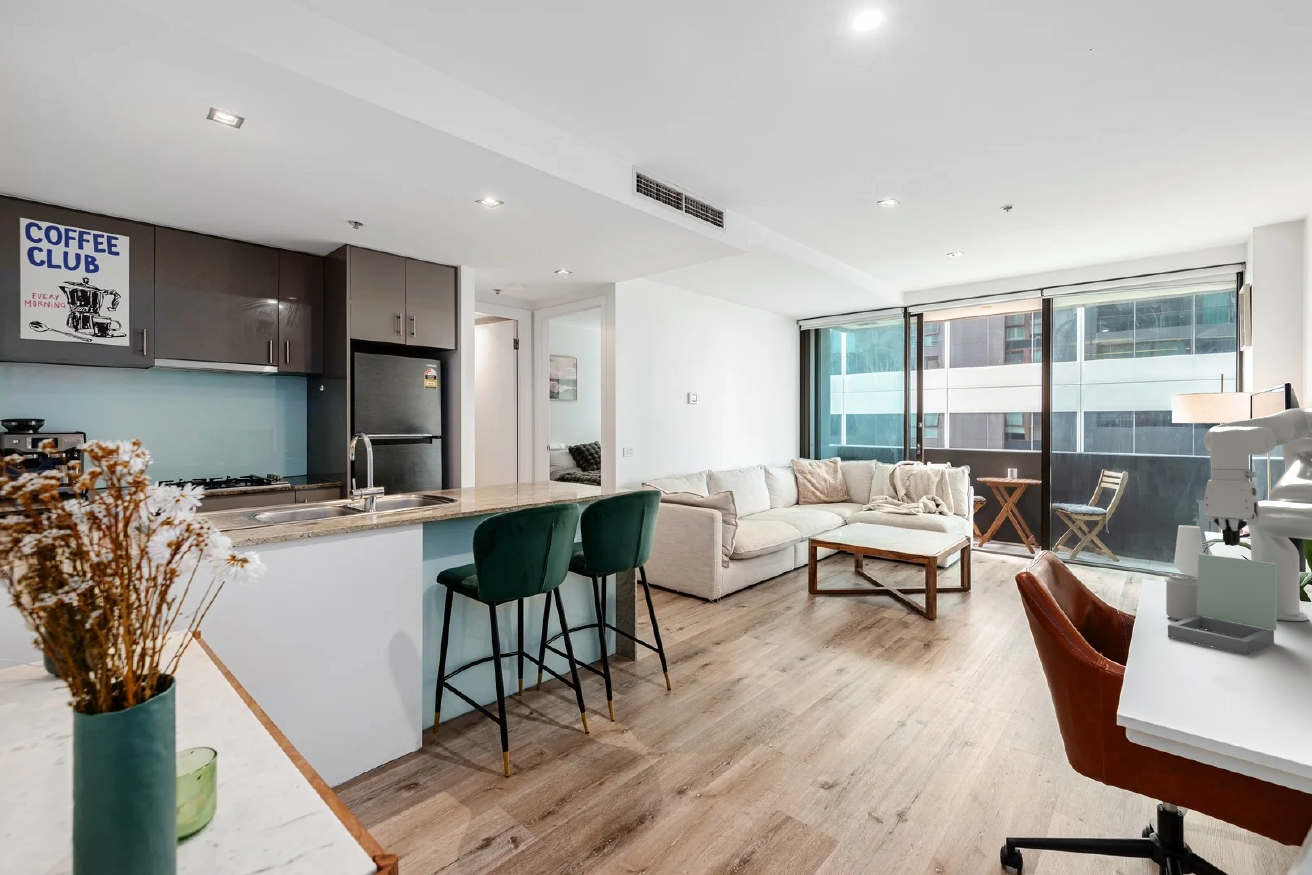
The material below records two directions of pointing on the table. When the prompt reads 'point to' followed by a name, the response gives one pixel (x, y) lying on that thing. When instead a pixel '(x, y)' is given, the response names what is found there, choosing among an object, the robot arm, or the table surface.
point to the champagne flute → (1188, 549)
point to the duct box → (1248, 644)
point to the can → (1181, 596)
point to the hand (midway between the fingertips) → (1231, 544)
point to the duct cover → (1237, 590)
